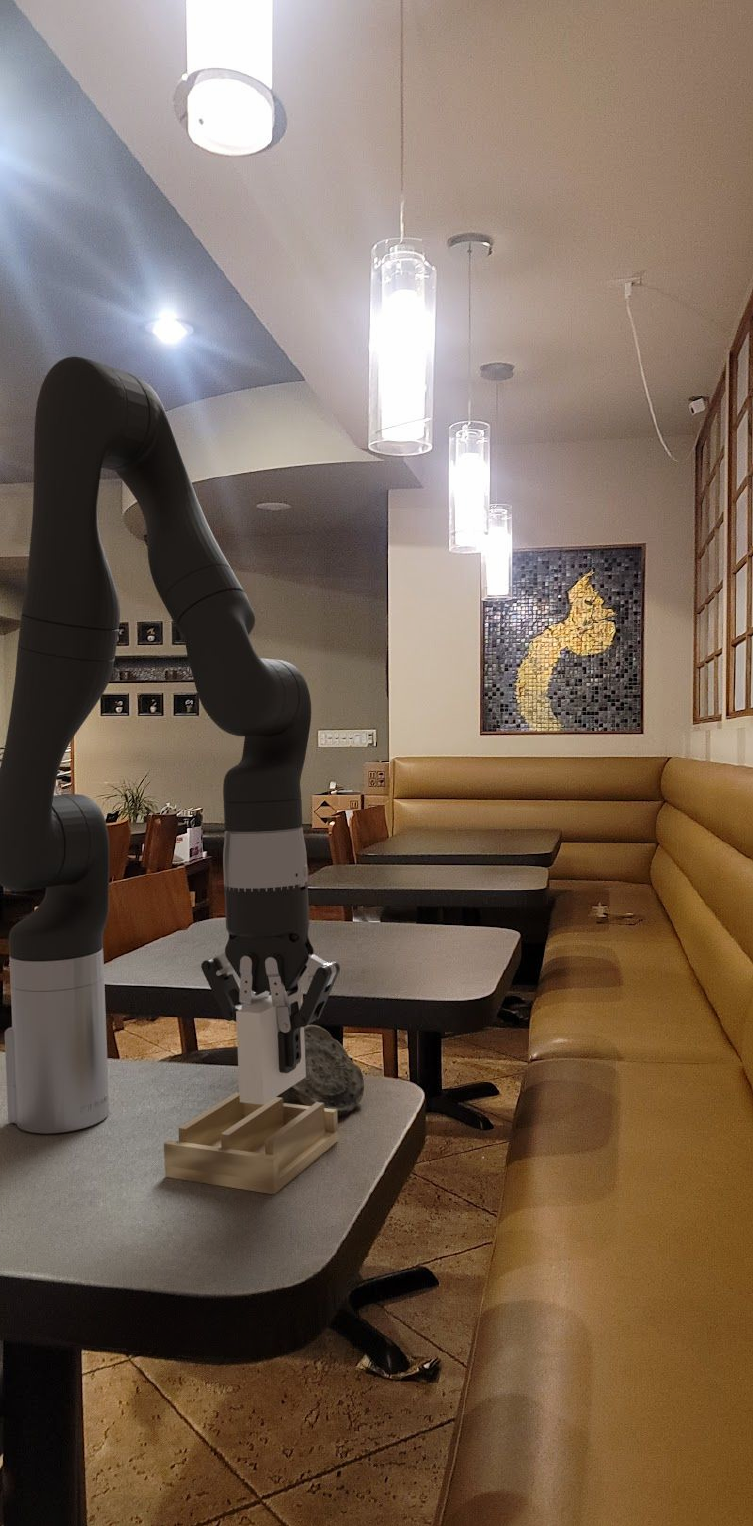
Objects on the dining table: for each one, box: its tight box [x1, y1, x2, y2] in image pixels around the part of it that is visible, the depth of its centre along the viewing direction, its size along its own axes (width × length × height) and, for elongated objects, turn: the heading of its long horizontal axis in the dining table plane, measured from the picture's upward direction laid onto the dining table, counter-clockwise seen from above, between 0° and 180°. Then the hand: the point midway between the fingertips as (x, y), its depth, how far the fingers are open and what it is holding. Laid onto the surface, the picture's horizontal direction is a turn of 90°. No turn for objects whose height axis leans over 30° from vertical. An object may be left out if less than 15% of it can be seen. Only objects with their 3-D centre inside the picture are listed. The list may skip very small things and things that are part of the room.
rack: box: [163, 1091, 339, 1195], centre depth 99 cm, size 11×13×4 cm
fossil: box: [276, 1024, 365, 1119], centre depth 112 cm, size 11×9×10 cm
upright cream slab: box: [236, 991, 306, 1105], centre depth 98 cm, size 2×8×8 cm, turn 156°
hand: (273, 1068), depth 98 cm, fingers closed on upright cream slab, 2 cm apart
